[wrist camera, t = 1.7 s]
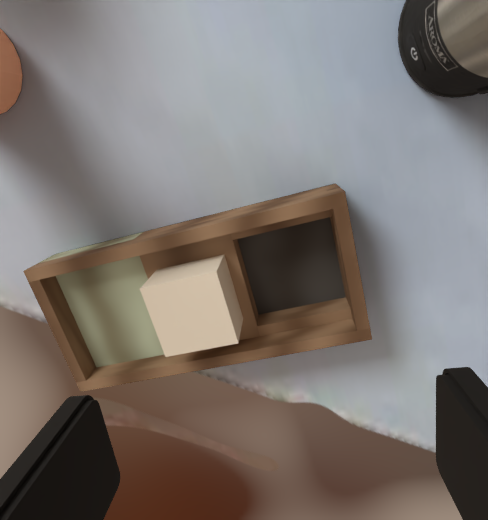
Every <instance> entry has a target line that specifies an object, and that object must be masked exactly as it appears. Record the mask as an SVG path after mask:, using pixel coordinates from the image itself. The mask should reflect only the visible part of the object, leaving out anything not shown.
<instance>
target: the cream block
mask: <svg viewBox="0 0 488 520" xmlns="http://www.w3.org/2000/svg"><path fill="white" fill-rule="evenodd" d="M140 291H141V294H142V296H143V299H144V302H145V304H146V307H147V310H148V312H149V315H150V317H151V320H152V323H153V325H154V328H155V331H156V333H157V336H158V339H159V341H160V344H161V346H162V349H163V352H164V354H165V357H169V356H174V355H179V354H185V353H190V352H195V351H200V350H206V349H211V348H216V347H222V346H227V345H232V344H238V343H239V338H240V333H241V328H242V322H243V316H242V313H241V309H240V306H239V303H238V299H237V296H236V293H235V289H234V286H233V282H232V279H231V276H230V272H229V269H228V266H227V262H226V259H225V255H224V254H223V255H219V256H215V257H211V258H206V259H202V260H198V261H193V262H189V263H185V264H180V265H176V266H172V267H167V268H163V269H159V270H156V271H155V272H154V273H153V274H152V276H151V277H150V278H149V279H148V280H147V281H146V282H145V283H144V284H143V286H142V287H141V288H140Z"/></svg>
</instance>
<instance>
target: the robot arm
mask: <svg viewBox="0 0 488 520" xmlns="http://www.w3.org/2000/svg"><path fill="white" fill-rule="evenodd" d="M436 462H437V466H438V469H439V472H440V474H441V477H442V479H443V480H444V483H445V484H446V487H447V489H448V491H449V492H450V495H451V496H452V499H453V501H454V503H455V505H456V506H457V508H458V510H459V512H460V515H461V516H462V519H463V520H488V387H487V386H486V385H485V384H484V383H483V382H482V380H481V379H480V378H479V377H478V376H477V375H476V374H475V373H474V371H473V370H472V369H471V368H469V367H462V368H449V369H444V371H443V375H438V376H437V378H436ZM119 482H120V472H119V468H118V465H117V462H116V459H115V456H114V452H113V448H112V445H111V442H110V439H109V435H108V432H107V429H106V425H105V422H104V419H103V415H102V412H101V409H100V406H99V403H98V401H97V400H94V399H93V398H92V397H91V396H89V395H86V396H73V397H69V398H68V399H66V400H65V402H64V403H63V404H62V406H60V408H59V409H58V410H57V411H56V413H55V414H54V415H53V416H52V417H51V419H50V420H49V421H48V422H47V423H46V425H45V426H44V427H43V428H42V429H41V431H40V432H39V433H38V434H37V436H36V437H35V438H34V439H33V440H32V442H31V443H30V444H29V445H28V446H27V448H26V449H25V450H24V451H23V452H22V454H21V455H20V456H19V457H18V458H17V460H16V461H15V462H14V463H13V464H12V466H11V467H10V468H9V469H8V470H7V472H6V473H5V474H4V475H3V477H2V478H1V479H0V520H103V519H104V517H105V515H106V512H107V510H108V508H109V506H110V504H111V502H112V500H113V497H114V495H115V493H116V491H117V489H118V486H119Z"/></svg>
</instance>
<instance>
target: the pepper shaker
mask: <svg viewBox="0 0 488 520" xmlns="http://www.w3.org/2000/svg"><path fill="white" fill-rule="evenodd" d="M22 77H23V75H22V69H21V63H20V59H19V57H18V54H17V52H16V50H15V47H14V45H13V43H12V42H11V41H10V40H9V38H8V37H7V36H6V34H5V33H4V32H3V31H2V30H1V29H0V114H2V113H4V112H6V111H7V110H8V109H10V108H11V107H12V106H13V105H14V104H15V102H16V100H17V98H18V96H19V94H20V92H21V85H22Z"/></svg>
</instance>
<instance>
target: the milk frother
mask: <svg viewBox="0 0 488 520" xmlns="http://www.w3.org/2000/svg"><path fill="white" fill-rule="evenodd" d="M398 44H399V50H400V55H401V58H402V61H403V64H404V66H405V68H406V70H407V72H408V73H409V75H410V76H411V77H412V78H413V80H414V81H415V82H416V83H418V84H419V85H420V86H421V87H422V88H424V89H425V90H427V91H429V92H431V93H433V94H436V95H439V96H443V97H465V96H471V95H475V94H477V93H479V94H485V93H488V0H406V2H405V4H404V7H403V10H402V13H401V17H400V22H399V28H398Z"/></svg>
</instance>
